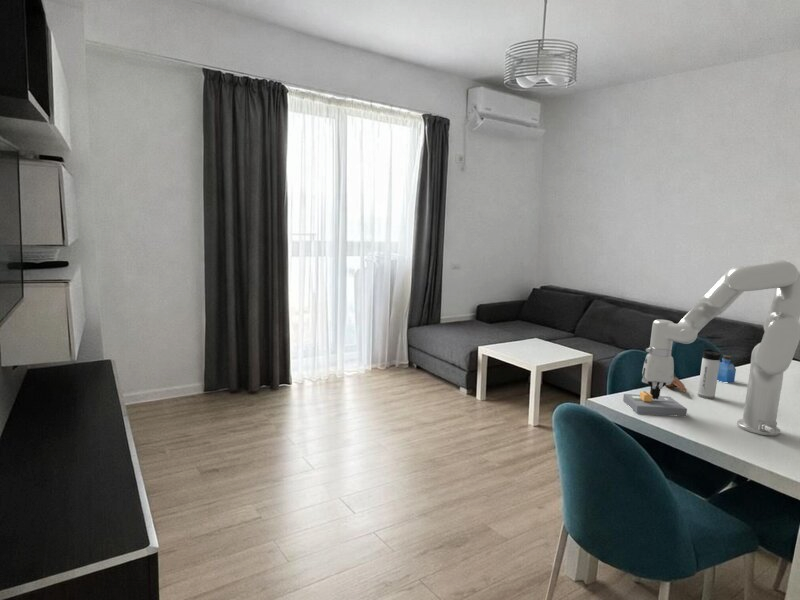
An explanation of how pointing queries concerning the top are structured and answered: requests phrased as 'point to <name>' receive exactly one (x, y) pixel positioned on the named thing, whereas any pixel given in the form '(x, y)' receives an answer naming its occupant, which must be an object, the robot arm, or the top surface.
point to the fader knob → (646, 396)
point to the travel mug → (709, 374)
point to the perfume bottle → (726, 370)
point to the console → (655, 405)
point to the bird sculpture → (677, 384)
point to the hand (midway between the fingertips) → (654, 397)
